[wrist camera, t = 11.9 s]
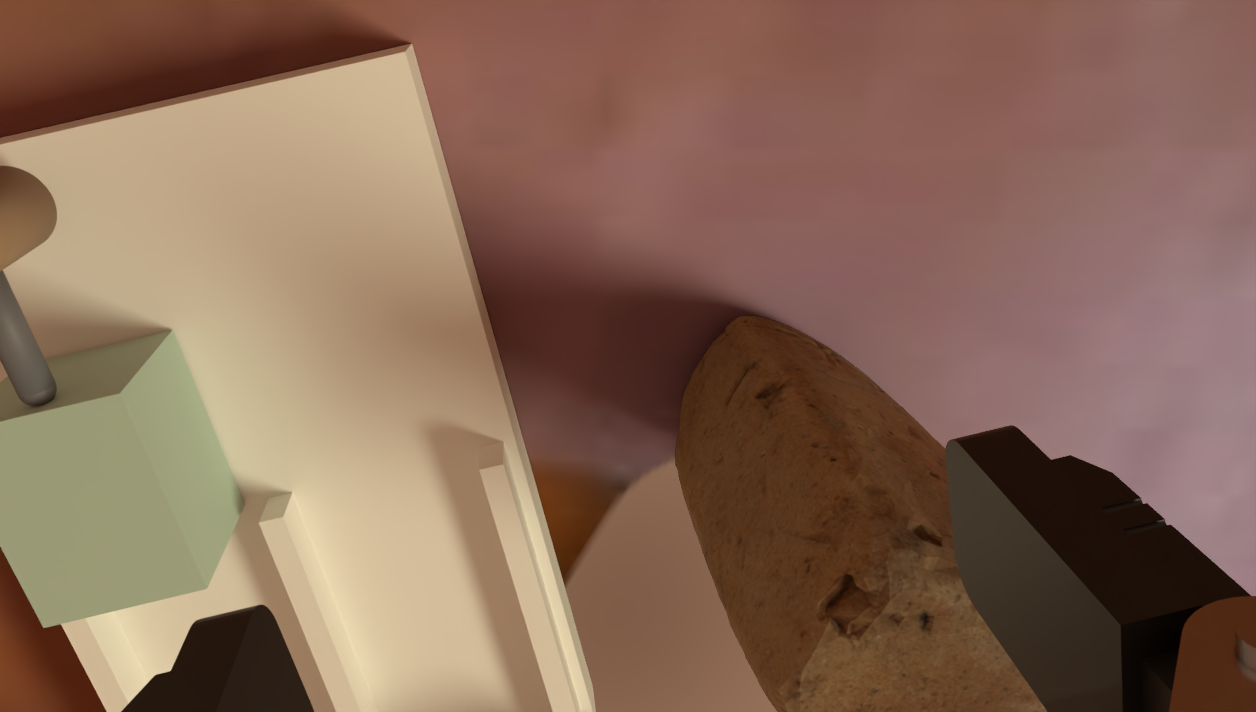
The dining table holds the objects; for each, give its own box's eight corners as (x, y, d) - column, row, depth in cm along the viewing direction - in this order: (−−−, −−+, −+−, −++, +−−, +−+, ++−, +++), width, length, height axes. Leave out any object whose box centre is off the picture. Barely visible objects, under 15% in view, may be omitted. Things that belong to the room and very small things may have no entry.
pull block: (-73, 177, 37) (-251, 253, 28) (94, 138, 37) (-33, 202, 28) (102, 539, 43) (0, 693, 34) (245, 504, 43) (179, 650, 34)
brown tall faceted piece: (643, 421, 47) (732, 734, 29) (731, 283, 45) (887, 523, 27) (835, 514, 50) (1026, 851, 32) (925, 389, 48) (1185, 671, 30)
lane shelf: (-102, 161, 40) (-241, 213, 32) (411, 43, 40) (391, 68, 33) (203, 782, 52) (154, 922, 45) (592, 687, 52) (607, 810, 45)
